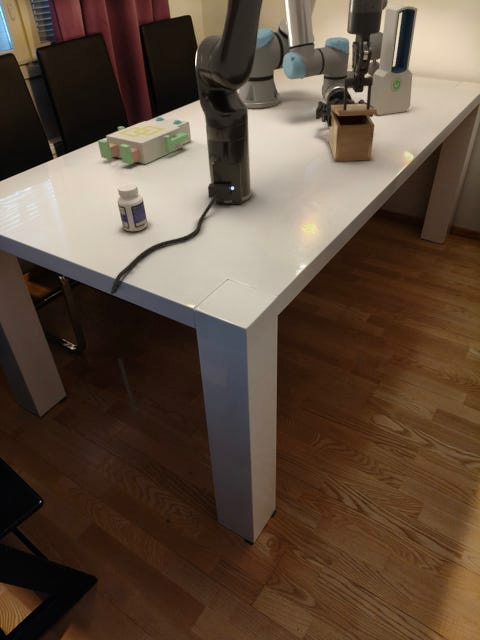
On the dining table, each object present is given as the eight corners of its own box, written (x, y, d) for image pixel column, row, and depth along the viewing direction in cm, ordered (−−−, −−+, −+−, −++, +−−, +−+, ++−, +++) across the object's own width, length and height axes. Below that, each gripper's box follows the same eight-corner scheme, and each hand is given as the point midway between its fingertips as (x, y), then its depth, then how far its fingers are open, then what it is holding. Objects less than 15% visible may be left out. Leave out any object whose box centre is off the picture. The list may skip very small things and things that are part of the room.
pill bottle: (149, 220, 107) (142, 181, 102) (146, 231, 103) (138, 191, 98) (125, 221, 107) (116, 182, 102) (121, 232, 103) (112, 193, 98)
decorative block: (150, 112, 153) (199, 120, 143) (154, 133, 157) (201, 142, 147) (87, 135, 137) (137, 147, 127) (92, 158, 141) (141, 171, 131)
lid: (376, 114, 122) (379, 77, 118) (338, 116, 122) (340, 79, 118) (364, 108, 136) (366, 74, 132) (330, 109, 137) (332, 76, 133)
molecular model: (328, 81, 202) (333, -6, 184) (375, 74, 207) (385, -11, 188) (355, 93, 184) (363, -1, 166) (406, 86, 189) (420, -7, 170)
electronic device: (375, 115, 160) (388, 8, 142) (365, 110, 166) (376, 6, 148) (409, 111, 163) (426, 4, 144) (398, 105, 168) (413, 2, 150)
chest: (370, 160, 130) (374, 124, 124) (335, 161, 130) (337, 126, 125) (360, 141, 142) (364, 108, 136) (328, 142, 142) (330, 109, 137)
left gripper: (388, 11, 106) (378, 96, 116) (376, 5, 117) (367, 84, 127) (353, 12, 106) (346, 98, 116) (344, 7, 117) (338, 85, 127)
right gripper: (372, 111, 155) (386, 132, 137) (302, 114, 156) (308, 136, 138) (374, 85, 150) (390, 104, 133) (303, 88, 151) (309, 108, 134)
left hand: (357, 90), depth 122 cm, fingers closed on lid, 2 cm apart
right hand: (348, 120), depth 135 cm, fingers closed on chest, 9 cm apart
